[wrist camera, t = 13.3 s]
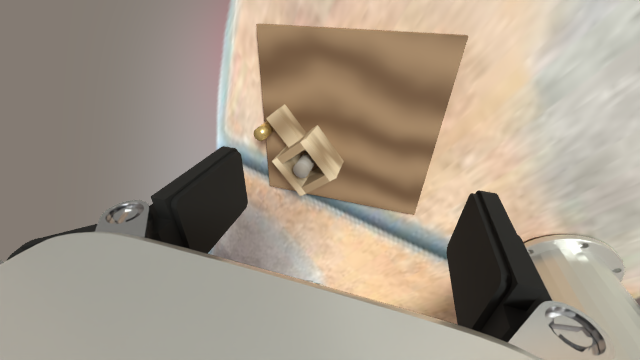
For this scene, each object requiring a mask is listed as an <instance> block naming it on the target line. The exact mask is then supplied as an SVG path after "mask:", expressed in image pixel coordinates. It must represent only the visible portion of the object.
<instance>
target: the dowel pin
mask: <svg viewBox="0 0 640 360" xmlns="http://www.w3.org/2000/svg"><path fill="white" fill-rule="evenodd" d="M274 131H275V129H274V128H273V127H272V126H271V124H270V123H269V122H268V121H266V122H265V123H264V124H262V125H261V126H260V127H258V128H257V129H256V130H255V131H254V137H255V138H256V139H257V140H259V141H263V140H264V139H265V138H267V137H268V136H269V135H270V134H271V133H272V132H274Z"/></svg>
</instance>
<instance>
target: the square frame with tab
mask: <svg viewBox="0 0 640 360" xmlns="http://www.w3.org/2000/svg"><path fill="white" fill-rule="evenodd" d="M266 119H267V120H268V122H269V123H270V124H271V126H272V127H273V128H274V129H275V131H276V132H277V133H278V134H279V136H280V137H281V138H282V140H283V141H284V142H285V143H286V145H287V146H286V147H285V148H284V149H283V150H282V151H281V152H280V153H279V154H278V155H277V156H276V157H275V158H274V159H273V160H272V162H273V163H274V165H275V166H276V167H277V168H278V169H279V171H280V172H281V173H282V174H283V176H284V177H285V178H286V179H287V180H288V182H289V183H290V184H291V185H292V186H293V188H294V189H295V190H296V191H297V193H298V194H299V195H300V196H302V195H304V194H306V193H308V192H310V191H312V190H314V189H316V188H318V187H320V186H322V185H324V184H326V183H328V182H330V181H332V180H334V179H336V178H337V175H338V173H339V171H340V169H341V167H342V164H343V162H344V161H343V159H342V158H341V157H340V155H339V154H338V152H337V151H336V150H335V148H334V147H333V145H332V144H331V143H330V141H329V140H328V139H327V137H326V136H325V134H324V133H323V132H322V130H321V129H320V128H319V126H318V125H317V126H315V127H314V128H312V129H311V130H309V131H308V132H305V130H304V129H303V128H302V126H301V125H300V124H299V122H298V121H297V120H296V118H295V117H294V116H293V114H292V113H291V112H290V110H289V109H288V107H287V106H286V105H285V104H284V105H283V106H282V107H280V108H279V109H277V110H276V111H275V112H274V113H272V114H271V115H270V116H269V117H267V118H266ZM305 149H306V151H307V152H308V153H309V155H310V156H311V157H312V159H313V160H314V161H315V163H316V164H317V165H318V166H319V167H318V168H316V169H315V170H313V171H312V170H311V171H310V172H309V174H308V176H307V177H305V178H300V177H297V176H296V175H295V174H294V172H293V167H294V166H295V164H296V163H297V162H298V160H299V159H300V158H301V156H300V155H299V153H300V152H302V151H303V150H305Z"/></svg>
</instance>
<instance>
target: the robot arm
mask: <svg viewBox="0 0 640 360" xmlns="http://www.w3.org/2000/svg"><path fill="white" fill-rule="evenodd" d="M151 199H152V202H153V204H152V205H150V206H149V205H148V204H147V203H146V202H144V201H141V200H132V201H126V202H122V203H119V204H117V205H115V206H113V207H111V208H109V209H108V210H106V211H105V212H104V213H103V214H102V216H101V217H100V219H99V222H98V224H95V225H91V226H87V227H83V228H79V229H75V230H71V231H67V232H63V233H59V234H55V235H51V236H47V237H43V238H38V239H34V240H31V241H29V242H27V243H25V244H24V245H22V246H21V247H20V248H19V249H17V250H16V251H15V252H14V253H12V254H11V255H10V257H9V258H8V259H7V261H6V262H3V261H2V260H0V360H640V306H639V305H638V304H637V302H636V301H635V300H634V299H633V297H632V296H631V295H630V294H629V292H628V291H627V290H626V288H625V287H624V286H623V285H622V283H621V281H622V279H623V277H624V274H625V266H624V263H623V260H622V259H621V258H620V256H619V255H618V254H617V253H616V252H615V251H614V250H613V249H612V248H611V247H610V246H608V245H607V244H605V243H603V242H601V241H599V240H596V239H594V238H590V237H585V236H580V235H570V234H569V235H551V236H545V237H541V238H537V239H534V240H531V241H528V242H526V243H523V241H522V239H521V238H520V236H519V235H517V233H516V231H515V229H514V227H513V225H512V223H511V221H510V219H509V217H508V215H507V213H506V211H505V209H504V207H503V205H502V203H501V201H500V199H499V197H498V195H497V194H496V193H490V192H485V191H477V192H476V193H475V194H473V193H471V194H470V195H469V197H468V200H467V202H466V204H465V207H464V209H463V211H462V214H461V216H460V218H459V220H458V223H457V225H456V227H455V230H454V232H453V234H452V237H451V239H450V241H449V244H448V247H447V259H448V265H449V272H450V278H451V284H452V291H453V297H454V304H455V310H456V316H457V323H458V325H457V324H454V323H450V322H447V321H443V320H440V319H437V318H433V317H430V316H427V315H423V314H420V313H417V312H413V311H410V310H407V309H403V308H400V307H396V306H393V305H389V304H386V303H382V302H379V301H375V300H372V299H368V298H365V297H361V296H358V295H354V294H351V293H347V292H343V291H340V290H336V289H333V288H329V287H326V286H322V285H319V284H315V283H311V282H308V281H304V280H301V279H297V278H294V277H290V276H286V275H283V274H279V273H276V272H272V271H268V270H265V269H261V268H258V267H254V266H250V265H247V264H243V263H239V262H236V261H232V260H228V259H225V258H221V257H217V256H214V255H210V254H208V252H209V251H210V250H211V249H212V248H213V247H214V245H215V244H216V243H217V242H218V241H219V239H220V238H221V237H222V236H223V235H224V234H225V232H226V231H227V230H228V229H229V228H230V226H231V225H232V224H233V223H234V222H235V221H236V219H237V218H238V217H239V216H240V215H241V213H242V212H243V211H244V210H245V209H246V207H247V203H248V200H247V193H246V186H245V179H244V172H243V165H242V158H241V154H240V153H239V152H238V151H237V149H235V148H230V147H224V146H223V147H221V148H219V149H218V150H216V151H215V152H214V153H212V154H211V155H209V156H208V157H207V158H205V159H204V160H202V161H201V162H199V163H198V164H197V165H195V166H194V167H192V168H191V169H189V170H188V171H187V172H185V173H184V174H182V175H181V176H179V177H178V178H177V179H175V180H174V181H172V182H171V183H169V184H168V185H167V186H165V187H164V188H162V189H161V190H160V191H158V192H157V193H155V194H154V195H152V196H151Z"/></svg>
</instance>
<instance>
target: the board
mask: <svg viewBox="0 0 640 360" xmlns="http://www.w3.org/2000/svg"><path fill="white" fill-rule="evenodd" d="M256 25H257V37H258V49H259V61H260V73H261V85H262V97H263V109H264V121H265V122H266V121H268V120H267V119H266V118H267V117H269V116H270V115H271V114H272V113H274V112H275V111H276V110H277V109H279V108H280V107H282V106H283V105H284V104H285V105H286V106H287V107H288V109H289V110H290V112H291V113H292V114H293V116H294V117H295V118H296V120H297V121H298V122H299V124H300V125H301V126H302V128H303V129H304V130H305V132H308V131H309V130H311V129H312V128H314V127H315V126H317V125H318V126H319V128H320V129H321V130H322V132H323V133H324V134H325V136H326V137H327V139H328V140H329V141H330V143H331V144H332V145H333V147H334V148H335V150H336V151H337V152H338V154H339V155H340V157H341V158H342V159H343V161H344V162H343V164H342V167H341V169H340V171H339V173H338V175H337V178H336V179H334V180H332V181H330V182H328V183H326V184H324V185H322V186H320V187H318V188H316V189H314V190H312V191H310V192H308V194H313V195H318V196H323V197H328V198H333V199H337V200H342V201H347V202H352V203H357V204H362V205H367V206H372V207H377V208H382V209H387V210H392V211H397V212H402V213H407V214H412V215H414V214H415V210H416V207H417V204H418V201H419V197H420V194H421V191H422V187H423V184H424V181H425V177H426V174H427V171H428V168H429V164H430V161H431V158H432V154H433V151H434V148H435V144H436V141H437V138H438V135H439V131H440V128H441V125H442V121H443V118H444V115H445V111H446V108H447V105H448V102H449V98H450V95H451V92H452V88H453V85H454V82H455V78H456V75H457V72H458V68H459V65H460V62H461V59H462V55H463V52H464V49H465V45H466V42H467V39H468V36H467V35H454V34H436V33H418V32H400V31H382V30H364V29H346V28H328V27H310V26H292V25H274V24H256ZM266 145H267V157H268V169H269V181H270V186H273V187H278V188H283V189H288V190H293V191H296V190H295V189H294V188H293V186H292V185H291V184H290V183H289V182H288V180H287V179H286V178H285V177H284V176H283V174H282V173H281V172H280V171H279V169H278V168H277V167H276V166H275V165H274V163H273V162H272V160H273V159H274V158H275V157H276V156H277V155H278V154H279V153H280V152H281V151H282V150H283V149H284V148H285V147H286V146H287V145H286V143H285V142H284V141H283V140H282V138H281V137H280V136H279V134H278V133H277V132H276V131H274V132H272V133H271V134H270V135H269V136H268V137H267V138H266ZM299 155H300V156H301V158H300V159H299V160H298V162H297V163H296V164H295V166H294V167H293V172H294V174H295V175H296V176H297V177H300V178H305V177H307V176H308V174H309V172H310V171H311V170H312V171H313V170H315V169H316V168H318V167H319V166H318V165H317V164H316V163H315V161H314V160H313V159H312V157H311V156H310V155H309V153H308V152H307V151H306V149H305V150H303V151H302V152H300V153H299Z"/></svg>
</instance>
